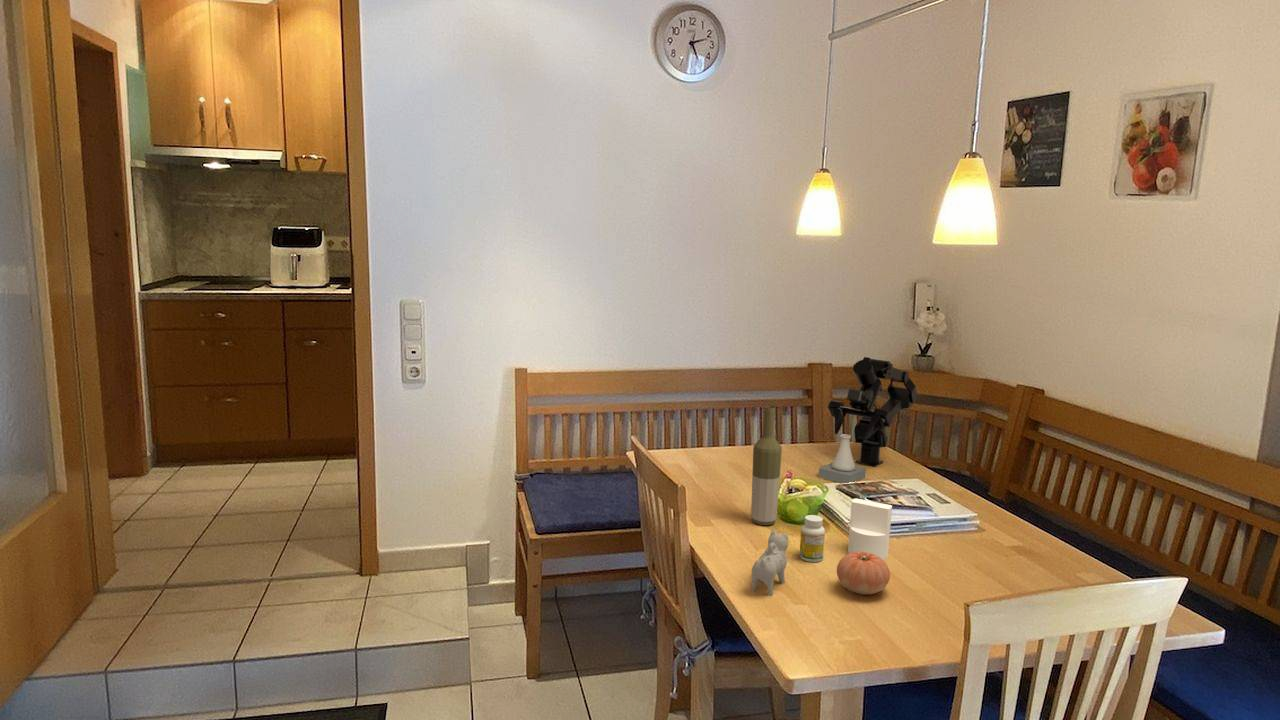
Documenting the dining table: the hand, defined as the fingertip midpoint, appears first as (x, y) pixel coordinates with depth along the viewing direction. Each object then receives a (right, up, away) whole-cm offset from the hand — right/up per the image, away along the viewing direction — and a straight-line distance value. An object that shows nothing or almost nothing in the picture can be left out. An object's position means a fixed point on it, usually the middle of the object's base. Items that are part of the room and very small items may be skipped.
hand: (849, 436), depth 251 cm
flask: (-2, -10, -1) cm, 10 cm away
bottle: (-31, -19, -37) cm, 52 cm away
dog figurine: (-35, -25, -72) cm, 84 cm away
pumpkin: (-16, -26, -74) cm, 80 cm away
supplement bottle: (-23, -23, -58) cm, 67 cm away
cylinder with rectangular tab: (-9, -22, -55) cm, 60 cm away
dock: (-2, -12, -1) cm, 12 cm away
